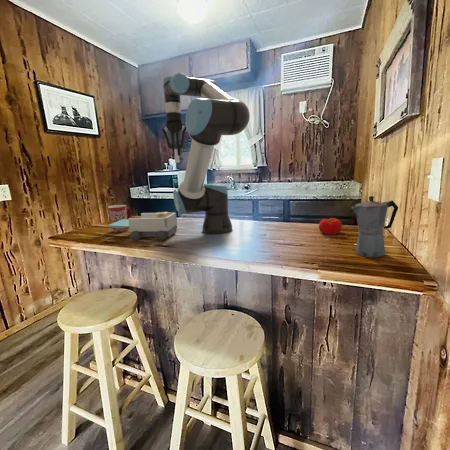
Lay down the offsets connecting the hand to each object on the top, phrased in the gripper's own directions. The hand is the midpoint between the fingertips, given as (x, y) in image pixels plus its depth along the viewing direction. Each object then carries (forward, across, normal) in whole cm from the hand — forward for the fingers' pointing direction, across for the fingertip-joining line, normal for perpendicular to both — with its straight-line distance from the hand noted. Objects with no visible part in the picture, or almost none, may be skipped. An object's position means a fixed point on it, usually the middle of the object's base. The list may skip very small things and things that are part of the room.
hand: (177, 162), depth 131 cm
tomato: (+35, -73, +13) cm, 82 cm away
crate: (+28, +5, +15) cm, 33 cm away
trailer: (+34, +9, +16) cm, 39 cm away
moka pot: (+35, -79, +41) cm, 96 cm away
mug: (+35, +32, +4) cm, 47 cm away
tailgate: (+28, +19, +16) cm, 38 cm away
